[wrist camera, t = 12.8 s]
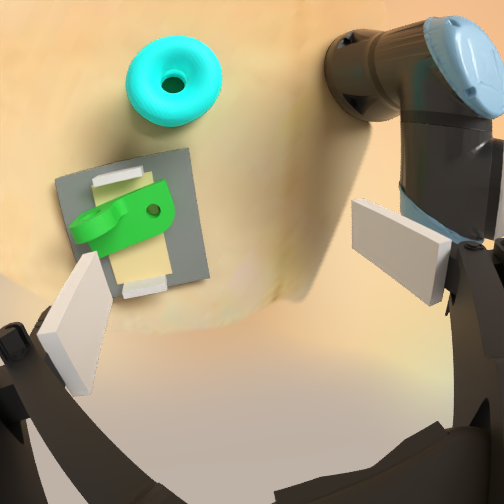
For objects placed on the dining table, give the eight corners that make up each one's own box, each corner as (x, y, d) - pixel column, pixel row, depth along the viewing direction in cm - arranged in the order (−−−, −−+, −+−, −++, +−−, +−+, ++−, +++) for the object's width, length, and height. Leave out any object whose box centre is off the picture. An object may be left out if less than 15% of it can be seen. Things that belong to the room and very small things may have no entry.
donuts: (158, 144, 29) (106, 68, 24) (160, 142, 38) (120, 83, 33) (243, 90, 29) (191, 16, 24) (225, 100, 38) (185, 41, 33)
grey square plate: (187, 147, 39) (190, 149, 34) (208, 272, 46) (213, 287, 42) (59, 177, 35) (46, 183, 31) (92, 295, 43) (86, 313, 38)
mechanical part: (99, 254, 38) (86, 280, 31) (80, 213, 36) (62, 232, 29) (180, 221, 40) (184, 242, 33) (165, 178, 37) (164, 189, 30)
